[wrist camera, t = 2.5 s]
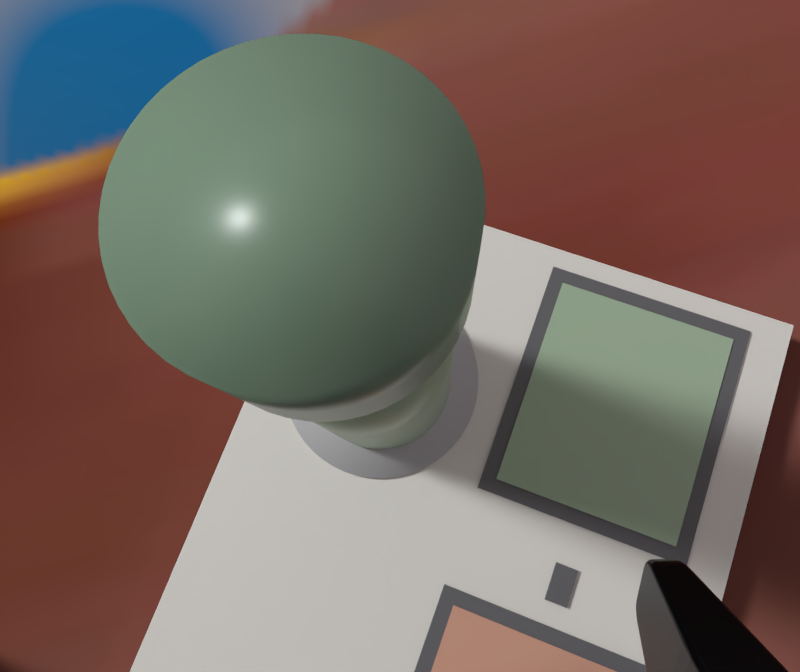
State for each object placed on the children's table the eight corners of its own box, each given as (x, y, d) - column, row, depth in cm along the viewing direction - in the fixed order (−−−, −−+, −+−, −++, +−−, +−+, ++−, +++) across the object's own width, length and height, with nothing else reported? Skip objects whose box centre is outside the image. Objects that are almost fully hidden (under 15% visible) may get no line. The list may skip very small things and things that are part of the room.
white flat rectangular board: (599, 1001, 16) (610, 1037, 15) (102, 764, 18) (81, 782, 17) (776, 333, 20) (795, 324, 19) (344, 191, 22) (339, 176, 21)
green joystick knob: (425, 479, 18) (402, 458, 7) (281, 424, 19) (31, 317, 7) (478, 334, 19) (537, 93, 8) (338, 285, 20) (195, -8, 8)
